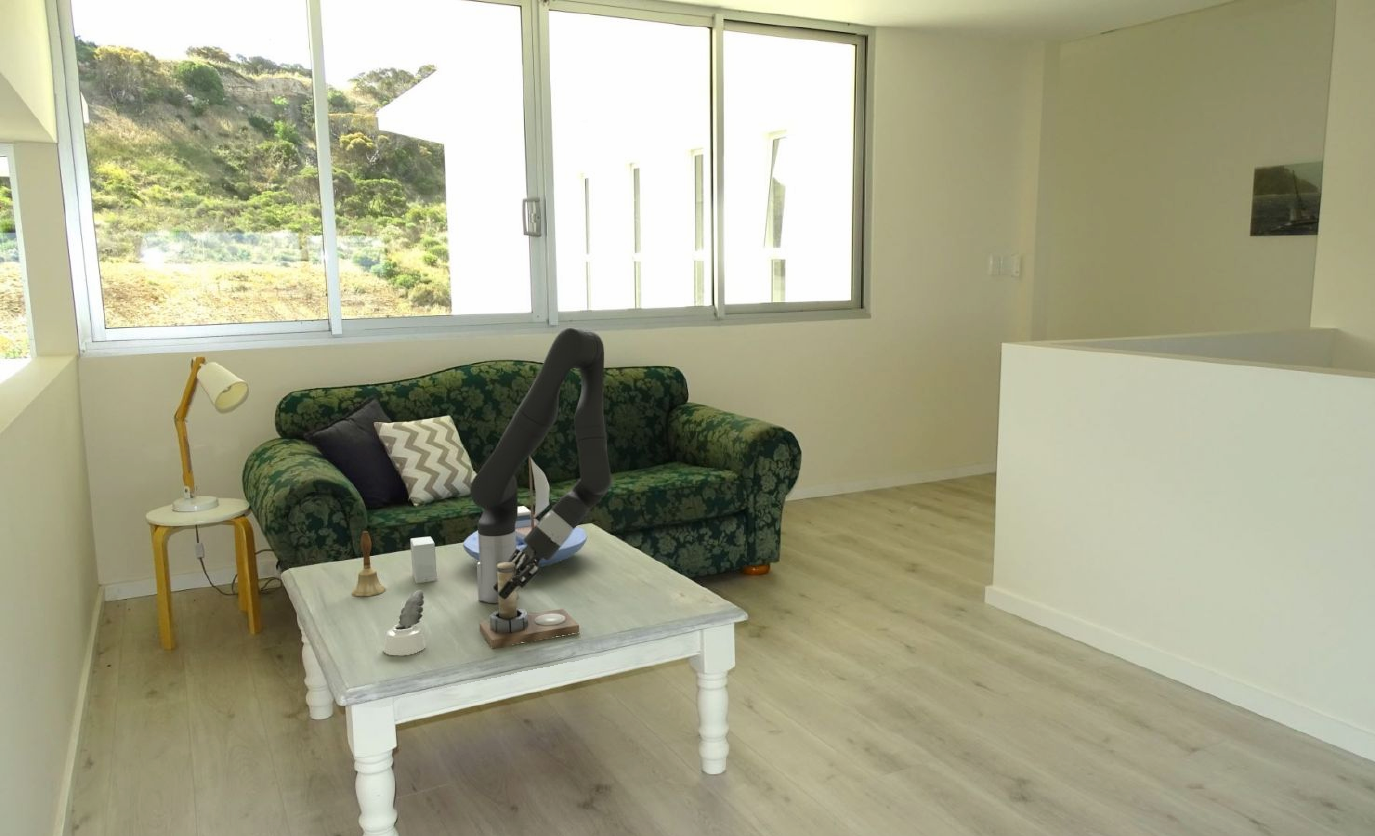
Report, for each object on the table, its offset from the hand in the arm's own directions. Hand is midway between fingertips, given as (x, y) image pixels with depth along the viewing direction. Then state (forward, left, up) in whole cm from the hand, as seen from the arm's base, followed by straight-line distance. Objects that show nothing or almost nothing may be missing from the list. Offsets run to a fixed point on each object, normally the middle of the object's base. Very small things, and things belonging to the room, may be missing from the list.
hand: (498, 593), depth 220 cm
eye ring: (+2, +1, -8) cm, 8 cm away
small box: (-36, +39, -10) cm, 54 cm away
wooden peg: (+2, +1, -6) cm, 6 cm away
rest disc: (+10, +6, -8) cm, 14 cm away
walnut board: (+5, +4, -10) cm, 12 cm away
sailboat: (-13, +56, -10) cm, 58 cm away
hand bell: (-46, +27, -10) cm, 54 cm away
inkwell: (-20, -5, -10) cm, 23 cm away
